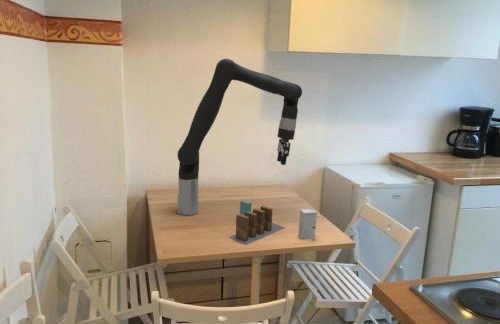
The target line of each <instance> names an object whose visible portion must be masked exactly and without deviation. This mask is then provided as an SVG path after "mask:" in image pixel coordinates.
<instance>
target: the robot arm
mask: <svg viewBox="0 0 500 324" xmlns="http://www.w3.org/2000/svg"><path fill="white" fill-rule="evenodd" d="M233 81H235V82H236V81H237V82H240V83H244V84H247V85H250V86H252V87H254V88H256V89H259V90H262V91H264V92H267V93H270V94H274V95H279V96H281V97H283V106H282V110H281V116H280V120H279V122H278V123H279V124H278V130H277V136H276V137H277V138H278V146H277V150H276V151H277V158H276V161H277V162H280V165H282V166H286V164H287V160H288V159H287V158H288V157H289V156H290V150H291V143H292V142H290V141H292V140H294V138H295V133H296V128H297V118H298V113H299V110H298V104H299V99H300V98H302V97H301V96H302V95H303V90H302V87H301V86H300V85H299V84H296V83H293V82H291V81H286V80H284V79H283V80H282V79H280V78H278V77H275V76H273V75H269V74H265V73H261V72H258V71H255V70H252V69H249V68H247V67H245V66H242V65H240V64H238V63H236V62H234V60H232V59H230V58H222V59H220V60H219V61H218V62H217V64H216V66H215V68H214V73H213V76H212V79H211V81H210V84H209V86H208V88H207V90H206V91H205V93H204V95H203V96H202V99H201V100H200V102H199V104H198V106H197V109H196V111H195V114H194V115H193V117H192V118H193V119H192V121H191V124H190V127H189V131H188V133H187V135H186V138H185V139H184V141H183V143H182V144H181V146H180V148H179V149H178V151H177V159H178V162H179V167H178V193H177V214H179V215H183V216H194V215H197V214H199V174H200V173H199V171H200V149H201V147H202V144H203V141H204V139H205V137H206V136H207V135H208V133H209V132H210V130H211V128H212V126H213V124H214V122H215V121H216V119H217V116H218V114H219V113H220V112H219V111H220V109H221V105H222V104H223V99H224V97H225V94H226V92H227V89H228V88H229V86H230V84H231V83H232V82H233Z"/></svg>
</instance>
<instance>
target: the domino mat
mask: <svg viewBox="0 0 500 324" xmlns="http://www.w3.org/2000/svg"><path fill="white" fill-rule="evenodd" d="M284 229H286V227H285V226H282V225H280V224H277V223H274V222H272V229H271V231H269V232H268V231H266V230H264V234H262V235H260V234H257V233H256V237H255V238H251V237H249V236H248V241H245V242H244V241H242V240H239V239H237V238H236V234H234V235H230V236H228V239H230V240H233V241H235V242H238V243H240V244H242V245H245V246H248V245H250V244H252V243H254V242H256V241H258V240H261V239H264V238H265V237H268V236H270V235H273V234H275V233H277V232H279V231H282V230H284Z"/></svg>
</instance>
